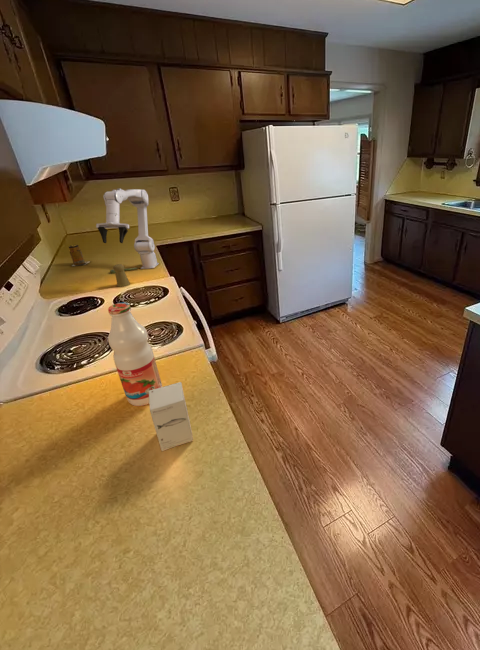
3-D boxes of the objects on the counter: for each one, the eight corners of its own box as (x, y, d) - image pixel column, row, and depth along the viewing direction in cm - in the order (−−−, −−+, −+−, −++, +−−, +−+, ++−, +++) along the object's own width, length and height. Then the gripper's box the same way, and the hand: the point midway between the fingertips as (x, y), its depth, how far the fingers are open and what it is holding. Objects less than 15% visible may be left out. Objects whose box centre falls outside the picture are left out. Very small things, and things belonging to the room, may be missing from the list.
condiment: (76, 262, 211) (70, 244, 206) (90, 261, 212) (84, 243, 207) (71, 266, 205) (64, 247, 200) (85, 265, 206) (79, 246, 201)
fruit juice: (169, 385, 96) (147, 298, 84) (152, 408, 88) (124, 315, 76) (140, 383, 98) (114, 297, 86) (120, 405, 89) (87, 314, 77)
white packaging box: (161, 452, 75) (148, 410, 69) (159, 430, 81) (147, 389, 75) (194, 441, 77) (184, 400, 72) (190, 420, 83) (181, 380, 78)
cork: (132, 282, 175) (126, 263, 170) (125, 287, 169) (119, 266, 164) (121, 282, 175) (115, 263, 171) (114, 287, 170) (108, 266, 165)
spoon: (138, 268, 197) (138, 266, 196) (137, 270, 193) (137, 268, 192) (111, 271, 193) (110, 269, 192) (109, 273, 189) (109, 271, 189)
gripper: (93, 212, 157) (93, 240, 156) (125, 213, 159) (125, 240, 158) (100, 217, 164) (100, 244, 163) (130, 217, 166) (130, 244, 165)
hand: (112, 242), depth 161 cm, fingers open, 7 cm apart
